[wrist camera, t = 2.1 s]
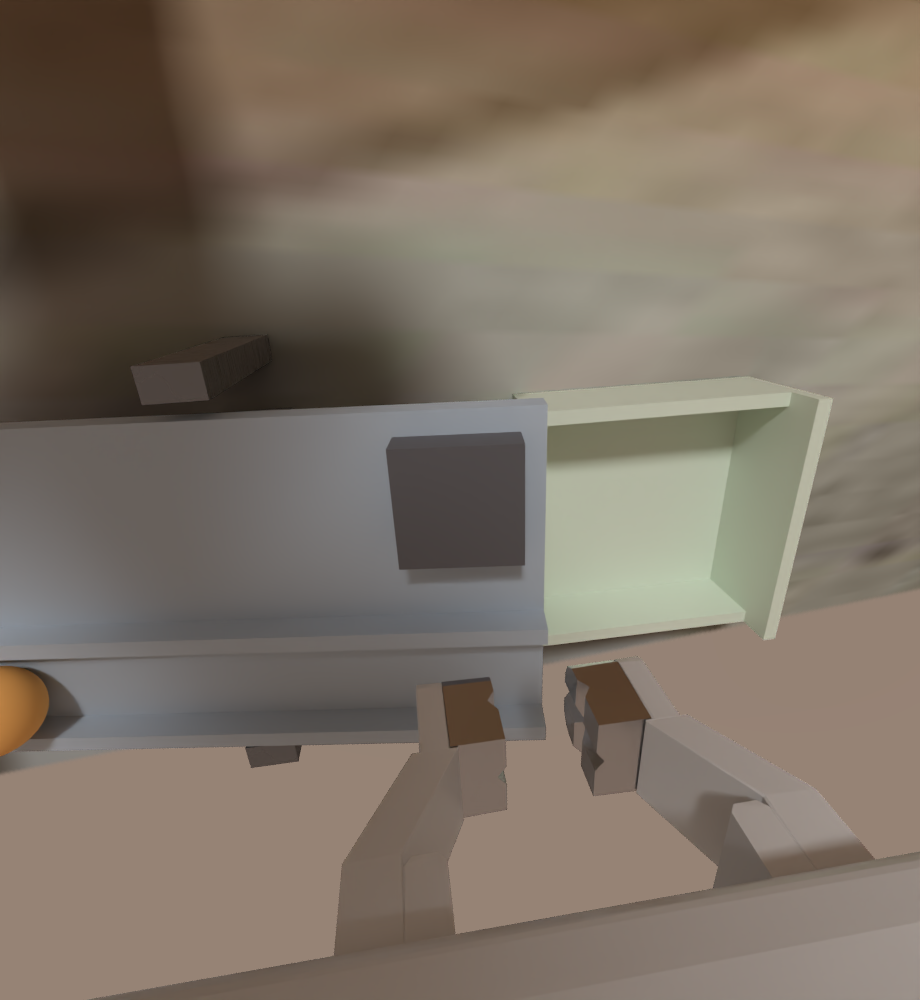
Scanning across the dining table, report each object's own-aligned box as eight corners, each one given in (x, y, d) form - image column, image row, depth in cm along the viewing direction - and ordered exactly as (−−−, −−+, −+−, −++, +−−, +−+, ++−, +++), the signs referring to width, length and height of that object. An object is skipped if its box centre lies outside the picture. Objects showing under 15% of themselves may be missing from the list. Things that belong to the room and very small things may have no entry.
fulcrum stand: (212, 338, 28) (112, 367, 18) (278, 333, 29) (216, 360, 18) (281, 635, 36) (239, 769, 26) (332, 629, 37) (309, 759, 27)
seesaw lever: (-131, 428, 21) (-242, 456, 18) (543, 397, 20) (557, 420, 17) (20, 715, 28) (-41, 774, 24) (538, 702, 27) (548, 762, 23)
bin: (512, 394, 32) (543, 422, 25) (747, 376, 33) (833, 398, 27) (514, 603, 38) (539, 668, 31) (712, 580, 39) (774, 638, 33)
